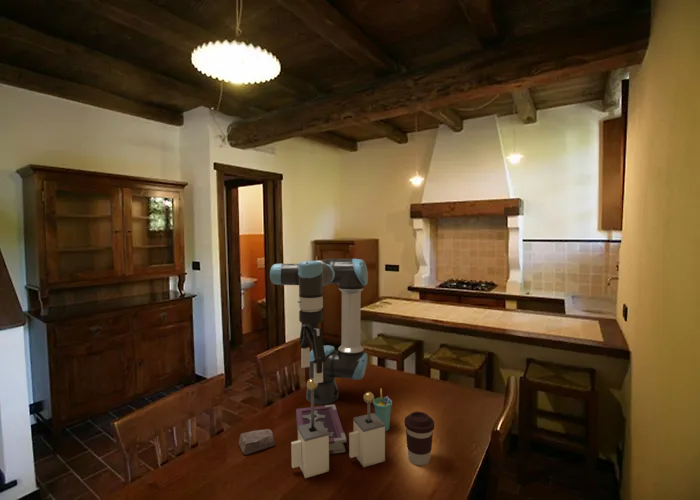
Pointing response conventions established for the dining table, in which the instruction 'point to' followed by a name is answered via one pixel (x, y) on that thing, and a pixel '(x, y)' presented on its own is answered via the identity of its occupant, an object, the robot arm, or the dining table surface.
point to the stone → (256, 441)
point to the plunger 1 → (312, 399)
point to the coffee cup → (419, 437)
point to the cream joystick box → (311, 450)
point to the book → (325, 424)
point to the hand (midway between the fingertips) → (311, 374)
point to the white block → (367, 440)
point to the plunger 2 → (368, 403)
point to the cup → (383, 409)
